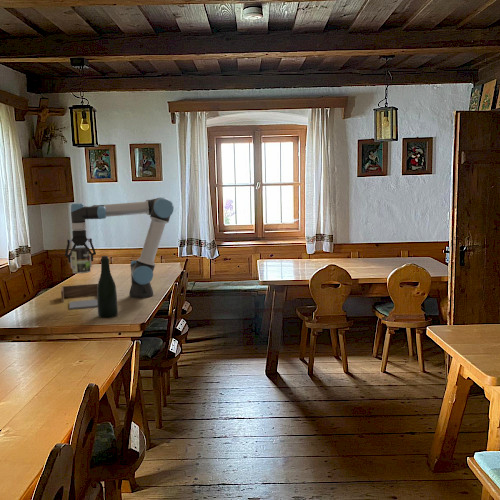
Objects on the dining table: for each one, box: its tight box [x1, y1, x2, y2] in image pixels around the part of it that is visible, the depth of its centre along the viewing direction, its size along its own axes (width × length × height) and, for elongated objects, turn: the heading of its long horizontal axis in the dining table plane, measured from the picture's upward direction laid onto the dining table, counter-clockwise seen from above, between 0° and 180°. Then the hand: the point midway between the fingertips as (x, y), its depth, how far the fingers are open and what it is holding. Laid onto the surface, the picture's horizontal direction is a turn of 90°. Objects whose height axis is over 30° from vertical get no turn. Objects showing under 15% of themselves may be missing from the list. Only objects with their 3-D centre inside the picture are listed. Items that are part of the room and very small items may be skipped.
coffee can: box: [70, 246, 91, 274], centre depth 298 cm, size 10×10×14 cm
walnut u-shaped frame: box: [60, 283, 98, 303], centre depth 321 cm, size 15×25×7 cm, turn 109°
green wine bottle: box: [96, 255, 119, 319], centre depth 275 cm, size 10×10×33 cm
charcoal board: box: [68, 299, 98, 310], centre depth 302 cm, size 16×16×1 cm
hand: (81, 267), depth 299 cm, fingers closed on coffee can, 10 cm apart
